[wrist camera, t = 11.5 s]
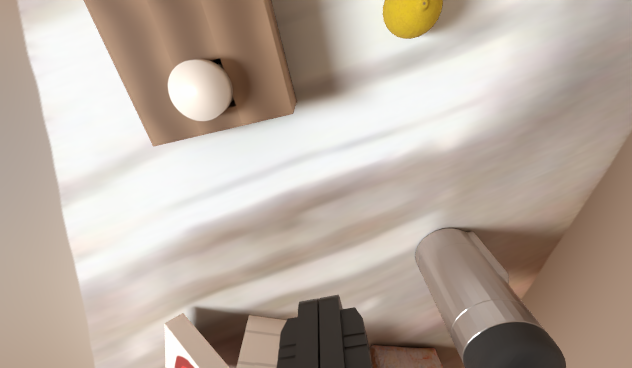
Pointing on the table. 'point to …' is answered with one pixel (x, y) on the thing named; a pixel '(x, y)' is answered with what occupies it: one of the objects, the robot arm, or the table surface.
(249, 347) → the pizza boxes
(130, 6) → the walnut block
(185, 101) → the white rounded piece
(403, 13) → the lemon
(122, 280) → the table surface
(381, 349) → the food item
